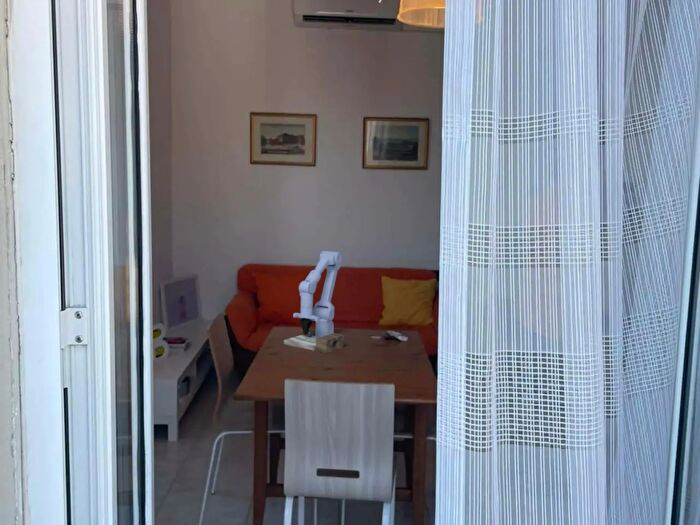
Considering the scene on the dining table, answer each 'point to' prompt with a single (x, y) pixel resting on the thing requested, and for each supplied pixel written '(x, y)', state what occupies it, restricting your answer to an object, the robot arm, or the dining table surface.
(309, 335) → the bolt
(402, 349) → the dining table surface
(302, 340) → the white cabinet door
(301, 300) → the robot arm
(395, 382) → the dining table surface
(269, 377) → the dining table surface
